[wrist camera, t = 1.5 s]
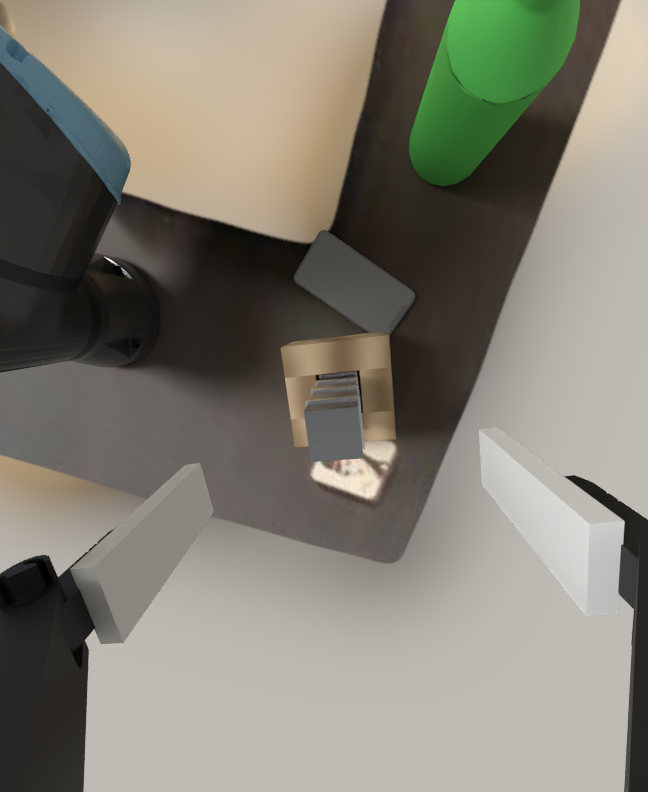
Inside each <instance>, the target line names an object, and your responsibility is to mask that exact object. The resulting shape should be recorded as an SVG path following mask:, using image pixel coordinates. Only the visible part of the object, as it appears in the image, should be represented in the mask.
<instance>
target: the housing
mask: <svg viewBox="0 0 648 792" xmlns="http://www.w3.org/2000/svg"><path fill="white" fill-rule="evenodd" d="M280 348H281V354H282V361H283V368H284V375H285V382H286V388H287V395H288V402H289V409H290V415H291V422H292V429H293V436H294V443H295V447H303V446H308V439H307V432H306V425H305V418H304V410H305V408H306V406H305V401H306V400H310V398H311V396H312V395H311V389H315V388H316V381H319V380H320V378H319V375H320V374H329V373H339V372H348V371H358V370H359V380H360V391H361V395H360V402H361V413H362V424H363V435H364V442H367V441H379V440H392V439H396V429H395V414H394V400H393V385H392V370H391V355H390V341H389V335H388V334H386V333H383V332H375V333H364V334H356V335H347V336H338V337H329V338H321V339H312V340H303V341H294V342H292V343H290V344H287V345H285V346H282V347H280Z"/></svg>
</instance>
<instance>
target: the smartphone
mask: <svg viewBox="0 0 648 792" xmlns="http://www.w3.org/2000/svg"><path fill="white" fill-rule="evenodd" d="M294 281H295V282H296V283H297V284H298V285H299V286H301V287H302V288H304V289H305V290H307V291H308V292H310V293H311V294H313V295H314V296H315V297H317V298H318V299H320V300H321V301H323V302H324V303H326V304H327V305H329V306H330V307H332V308H333V309H334V310H336V311H337V312H339V313H340V314H342V315H343V316H345V317H346V318H348V319H349V320H350V321H352V322H353V323H355V324H356V325H358V326H359V327H361V328H362V329H364V330H365V331H367V332H368V333H375V332H383V333H386V334H388V335H389V336H390V334H391V333H392V331H393V330H394V329H395V327H396V326H397V324H398V323H399V322H400V320H401V319H402V317H403V316H404V314H405V313H406V312H407V310H408V309H409V307H410V306H411V305H412V303H413V302H414V300H415V293H414V292H413V290H411V289H410V288H408V287H407V286H406V285H404V284H403V283H401V282H400V281H399V280H397V279H396V278H394V277H393V276H391V275H390V274H389V273H387V272H386V271H384V270H383V269H381V268H380V267H378V266H377V265H376V264H374V263H373V262H371V261H370V260H368V259H367V258H366V257H364V256H363V255H361V254H360V253H358V252H357V251H355V250H354V249H353V248H351V247H350V246H348V245H347V244H345V243H344V242H343V241H341V240H340V239H338V238H337V237H335V236H334V235H332V234H331V233H330V232H328V231H325V230H323V231H320V232H319V234H318V236H317V237H316V239H315V241H314V242H313V244H312V246H311V247H310V249H309V251H308V253H307V254H306V256H305V258H304V259H303V261H302V263H301V265H300V266H299V268H298V270H297V271H296V273H295V275H294Z"/></svg>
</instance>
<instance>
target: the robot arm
mask: <svg viewBox="0 0 648 792" xmlns="http://www.w3.org/2000/svg"><path fill="white" fill-rule="evenodd" d="M130 166H131V163H130V157H129V154H128V151H127V149H126V147H125V146H124V144H123V143H122V141H121V140H120V139H119V137H118V136H117V135H116V134H115V133H114V132H113V131H112V130H111V128H110V127H109V126H108V125H107V124H106V123H105V122H104V121H103V120H102V119H101V118H100V117H99V116H98V115H97V114H96V113H95V112H94V111H93V110H92V109H91V108H90V107H89V106H88V105H87V104H86V103H85V102H83V100H82V99H80V98H79V97H78V96H77V95H76V94H75V93H74V92H73V91H72V90H71V89H70V88H69V87H68V86H67V85H66V84H65V83H63V82H62V81H61V80H60V79H59V78H58V77H57V76H56V75H55V74H54V73H53V72H52V71H51V70H49V69H48V68H47V67H46V66H45V65H44V64H43V63H41V62H40V61H39V60H38V59H37V58H36V57H35V56H34V55H32V54H31V53H29V52H27V51H26V49H25V48H24V47H23V46H22V45H21V44H20V43H19V42H18V41H16V40H15V39H14V38H13V37H12V36H11V35H10V34H9V33H8V32H7V31H6V30H5V29H4V28H3V27H1V26H0V372H6V371H12V370H18V369H23V368H29V367H35V366H41V365H47V364H52V363H58V362H64V361H74V362H79V363H84V364H88V365H93V366H99V367H116V366H121V365H126V364H130V363H133V362H135V361H137V360H139V359H140V358H142V357H143V356H144V355H145V354H146V353H147V352H148V351H149V350H150V349H151V347H152V346H153V344H154V342H155V340H156V337H157V334H158V330H159V309H158V305H157V301H156V298H155V296H154V293H153V291H152V289H151V287H150V286H149V284H148V283H147V281H146V280H145V279H144V277H143V276H142V275H141V274H140V273H139V272H138V271H137V270H136V269H134V268H133V267H132V266H130V265H129V264H127V263H126V262H124V261H122V260H119V259H117V258H114V257H110V256H106V255H102V254H97V253H95V251H96V249H97V247H98V244H99V242H100V240H101V238H102V236H103V233H104V231H105V229H106V227H107V225H108V223H109V220H110V218H111V216H112V214H113V212H114V209H115V207H116V205H118V206H119V204H120V203H121V198H120V195H121V192H122V190H123V187H124V184H125V182H126V179H127V177H128V174H129V171H130ZM479 445H480V465H481V482H482V483H481V484H482V486H483V487H484V488H485V490H486V491H487V492H488V493H489V495H490V496H491V497H492V498H493V500H494V501H495V502H496V503H497V505H498V506H499V507H500V508H501V510H502V511H503V512H504V513H505V515H506V516H507V517H508V519H509V520H510V521H511V522H512V524H513V525H514V526H515V527H516V529H517V530H518V531H519V532H520V534H521V535H522V536H523V537H524V539H525V540H526V541H527V542H528V544H529V545H530V546H531V547H532V549H533V550H534V551H535V553H536V554H537V555H538V556H539V558H540V559H541V560H542V561H543V563H544V564H545V565H546V566H547V567H548V569H549V570H550V571H551V573H552V574H553V575H554V576H555V578H556V579H557V580H558V582H559V583H560V584H561V585H562V586H563V588H564V589H565V590H566V592H567V593H568V594H569V595H570V597H571V598H572V599H573V600H574V602H575V603H576V604H577V605H578V607H579V608H580V609H581V610H582V612H583V613H584V614H585V615H586V617H589V616H606V615H619V601H620V596H621V597H622V598H623V599H624V600H625V601H626V602H627V603H628V604H629V605H630V606H631V607H632V608H633V609H634V619H633V631H632V656H631V657H632V658H631V674H630V693H629V712H628V731H627V750H626V769H625V788H624V792H648V520H647V519H646V518H644V517H643V516H641V515H640V514H638V513H637V512H635V511H634V510H632V509H631V508H630V507H628V506H626V505H625V504H624V503H622V502H621V501H618V500H617V499H616V498H615V497H613V496H612V495H610V494H607V493H606V491H604V490H603V489H601V488H600V487H598V486H597V485H596V484H594V483H592V482H590V481H588V480H585V479H582V478H580V477H577V476H575V475H574V476H563V475H561V474H560V473H559V472H557V471H556V470H555V469H553V468H552V467H551V466H549V465H548V464H547V463H545V462H544V461H543V460H541V459H540V458H538V457H537V456H536V455H534V454H533V453H532V452H530V451H529V450H527V449H526V448H525V447H524V446H522V445H521V444H520V443H518V442H517V441H515V440H514V439H513V438H511V437H510V436H509V435H507V434H506V433H505V432H503V431H502V430H501V429H499V428H498V427H489V428H481V429H479ZM213 513H214V512H213V508H212V504H211V501H210V497H209V494H208V490H207V486H206V483H205V479H204V475H203V472H202V468H201V465H200V463H196V464H188V465H185V466H184V467H182V468H181V469H180V470H179V471H178V472H177V473H176V474H175V475H174V476H173V477H171V478H170V479H169V480H168V481H167V482H166V483H165V484H164V485H163V486H161V487H160V488H159V489H158V490H157V491H156V492H155V493H154V494H153V495H152V496H150V497H149V498H148V499H147V500H146V501H145V502H144V503H143V504H142V505H141V506H139V507H138V508H137V509H136V510H135V511H134V512H133V513H132V514H131V515H129V516H128V517H127V518H126V519H125V520H124V521H123V522H122V523H121V524H119V525H118V526H117V527H116V528H115V529H113V530H111V531H110V532H108V533H107V534H106V535H105V536H104V537H103V538H102V539H101V540H99V541H98V544H95V545H94V546H93V547H92V548H90V549H89V552H86V553H85V554H84V555H83V556H82V557H80V558H79V559H78V560H77V561H76V562H75V563H74V564H73V565H72V566H70V568H68V569H67V570H66V571H65V572H64V573H63V574H61V575H60V576H59V577H58V576H57V574H56V572H55V570H54V567H53V565H52V562H51V561H50V558H49V556H46V555H41V556H35V557H32V558H29V559H27V560H24V561H22V562H20V563H18V564H16V565H14V566H12V567H11V568H9V569H7V570H6V571H4V572H2V573H1V574H0V792H83V787H84V761H85V734H86V708H87V681H88V655H89V650H88V647H87V644H86V642H85V639H86V638H87V637H88V636H89V634H90V633H91V632H92V631H93V629H95V631H96V634H97V636H98V638H99V641H100V643H101V644H110V643H124V641H125V640H126V638H127V637H128V635H129V634H130V632H131V631H132V630H133V628H134V627H135V625H136V624H137V622H138V621H139V619H140V618H141V617H142V615H143V614H144V612H145V611H146V609H147V608H148V607H149V605H150V604H151V602H152V601H153V599H154V598H155V596H156V595H157V594H158V592H159V591H160V589H161V588H162V586H163V585H164V583H165V582H166V581H167V579H168V578H169V576H170V575H171V573H172V572H173V570H174V569H175V568H176V566H177V565H178V563H179V562H180V560H181V559H182V557H183V556H184V555H185V553H186V552H187V550H188V549H189V547H190V546H191V544H192V543H193V542H194V540H195V539H196V537H197V536H198V534H199V533H200V531H201V530H202V528H203V527H204V525H205V524H206V523H207V521H208V520H209V518H210V517H211V515H212V514H213Z"/></svg>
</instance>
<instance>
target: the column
mask: <svg viewBox="0 0 648 792" xmlns="http://www.w3.org/2000/svg"><path fill="white" fill-rule="evenodd" d="M319 378H320V380H319V381H316V388H315V389H311V395H312V396H311V398H310V400H306V401H305V406H306V408H305V410H304V418H305V425H306V432H307V439H308V447H309V454H310V461H311V462H317V461H330V460H344V459H358V458H363V450H362V449H365V445H364V435H363V424H362V413H361V402H360V395H359V385H358V377H357V371H348V372H339V373H329V374H320V375H319Z"/></svg>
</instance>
